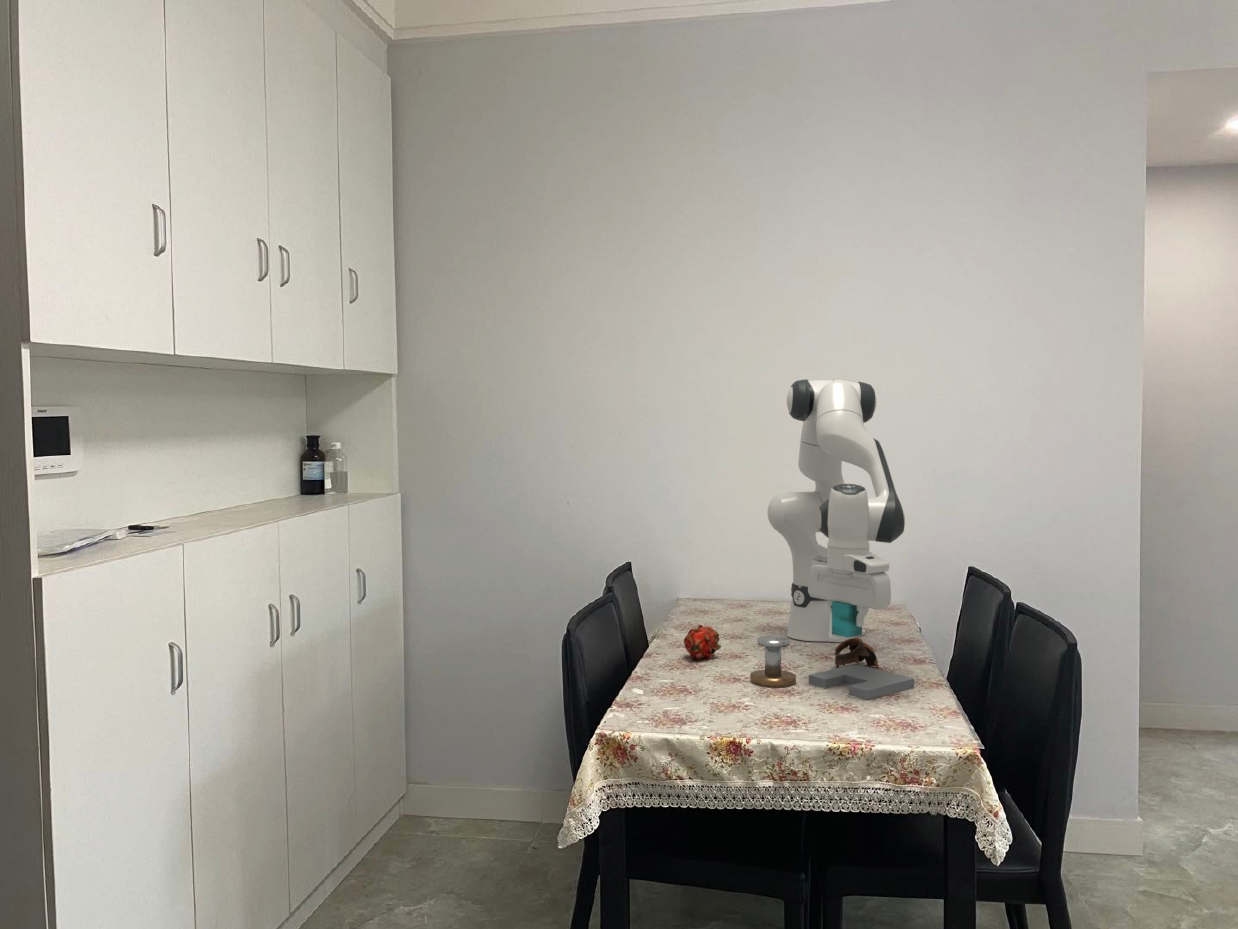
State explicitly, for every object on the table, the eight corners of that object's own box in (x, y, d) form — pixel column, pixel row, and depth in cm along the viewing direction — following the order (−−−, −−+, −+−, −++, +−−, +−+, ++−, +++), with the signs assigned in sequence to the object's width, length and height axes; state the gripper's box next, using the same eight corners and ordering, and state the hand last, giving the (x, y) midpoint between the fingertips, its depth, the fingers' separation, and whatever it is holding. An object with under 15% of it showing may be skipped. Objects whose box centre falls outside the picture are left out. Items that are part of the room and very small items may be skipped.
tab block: (845, 631, 219) (845, 599, 219) (861, 634, 215) (862, 602, 215) (831, 634, 216) (832, 601, 216) (848, 637, 213) (848, 605, 212)
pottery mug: (883, 677, 229) (867, 647, 227) (845, 692, 232) (829, 663, 230) (879, 652, 240) (864, 623, 239) (843, 666, 243) (828, 638, 241)
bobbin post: (772, 673, 230) (772, 632, 229) (805, 682, 222) (805, 640, 221) (741, 680, 224) (741, 638, 223) (773, 690, 216) (773, 646, 215)
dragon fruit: (713, 658, 251) (697, 676, 240) (686, 637, 253) (669, 654, 242) (731, 634, 247) (716, 651, 237) (704, 612, 249) (687, 628, 239)
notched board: (856, 672, 231) (856, 664, 230) (914, 687, 218) (914, 678, 218) (808, 683, 221) (808, 674, 221) (866, 700, 208) (866, 690, 208)
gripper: (801, 556, 222) (801, 618, 222) (876, 566, 205) (875, 633, 206) (821, 553, 225) (820, 614, 226) (895, 564, 209) (895, 629, 210)
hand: (847, 623), depth 216 cm, fingers closed on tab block, 4 cm apart
